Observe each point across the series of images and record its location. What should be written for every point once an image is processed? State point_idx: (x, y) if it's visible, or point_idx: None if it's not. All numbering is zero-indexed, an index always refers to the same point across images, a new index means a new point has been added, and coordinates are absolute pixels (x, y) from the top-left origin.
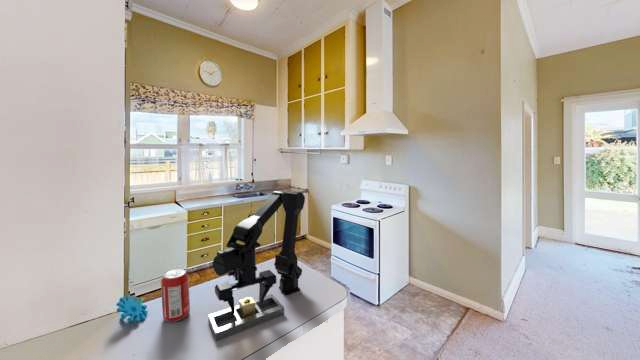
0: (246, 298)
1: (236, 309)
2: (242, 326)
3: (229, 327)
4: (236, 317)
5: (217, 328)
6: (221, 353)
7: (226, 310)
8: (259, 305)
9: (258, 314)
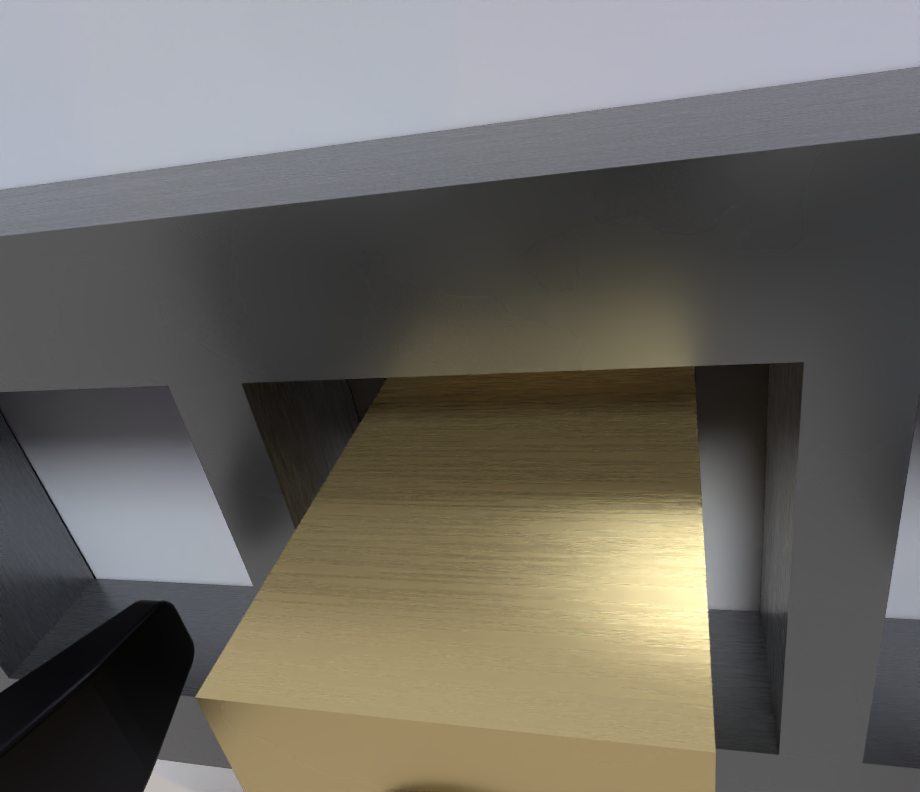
0: (481, 747)
1: (275, 376)
2: None
3: (180, 753)
4: None
5: (9, 683)
6: (187, 782)
7: (22, 310)
8: None
9: (731, 783)
